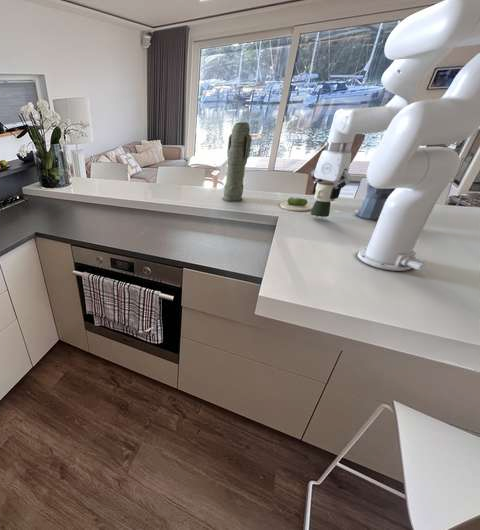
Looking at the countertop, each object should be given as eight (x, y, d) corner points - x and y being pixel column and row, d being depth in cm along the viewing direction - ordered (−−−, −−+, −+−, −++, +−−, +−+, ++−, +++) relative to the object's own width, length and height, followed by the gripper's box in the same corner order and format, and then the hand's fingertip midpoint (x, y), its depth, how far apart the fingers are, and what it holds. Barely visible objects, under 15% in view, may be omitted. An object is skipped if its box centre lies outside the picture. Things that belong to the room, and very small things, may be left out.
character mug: (317, 210, 120) (326, 179, 114) (336, 214, 114) (346, 182, 108) (302, 216, 116) (310, 184, 109) (320, 221, 110) (330, 187, 104)
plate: (320, 208, 126) (320, 206, 125) (295, 213, 123) (296, 211, 123) (296, 200, 137) (296, 198, 136) (273, 204, 134) (273, 203, 134)
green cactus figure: (236, 203, 139) (247, 123, 122) (217, 198, 148) (224, 123, 131) (248, 199, 143) (259, 121, 126) (228, 195, 152) (236, 122, 135)
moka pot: (371, 210, 119) (390, 160, 110) (399, 223, 106) (423, 168, 96) (347, 211, 121) (363, 161, 111) (371, 224, 107) (392, 169, 98)
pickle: (307, 205, 128) (309, 198, 126) (305, 207, 126) (307, 200, 125) (287, 202, 133) (289, 196, 131) (285, 204, 131) (287, 197, 130)
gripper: (309, 146, 109) (298, 192, 118) (353, 151, 94) (337, 203, 103) (325, 143, 111) (313, 189, 119) (371, 148, 96) (353, 200, 105)
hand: (324, 195), depth 111 cm, fingers closed on character mug, 7 cm apart
